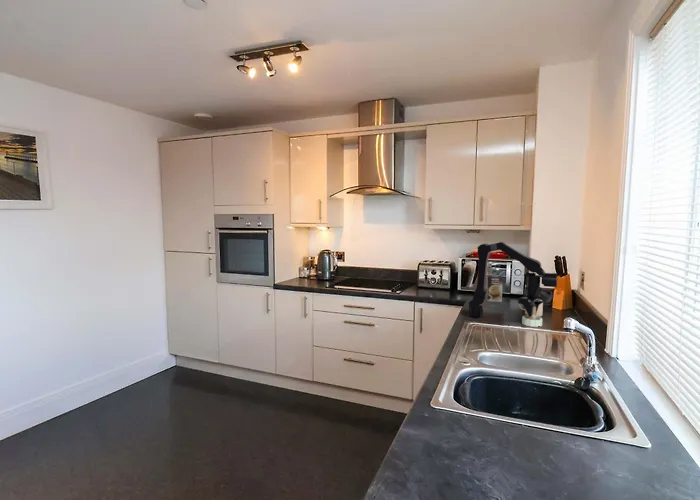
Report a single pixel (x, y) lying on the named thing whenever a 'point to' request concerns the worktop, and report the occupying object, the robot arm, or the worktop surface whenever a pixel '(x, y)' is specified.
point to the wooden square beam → (533, 314)
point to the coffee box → (494, 288)
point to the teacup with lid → (539, 311)
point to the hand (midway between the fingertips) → (532, 315)
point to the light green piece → (532, 321)
